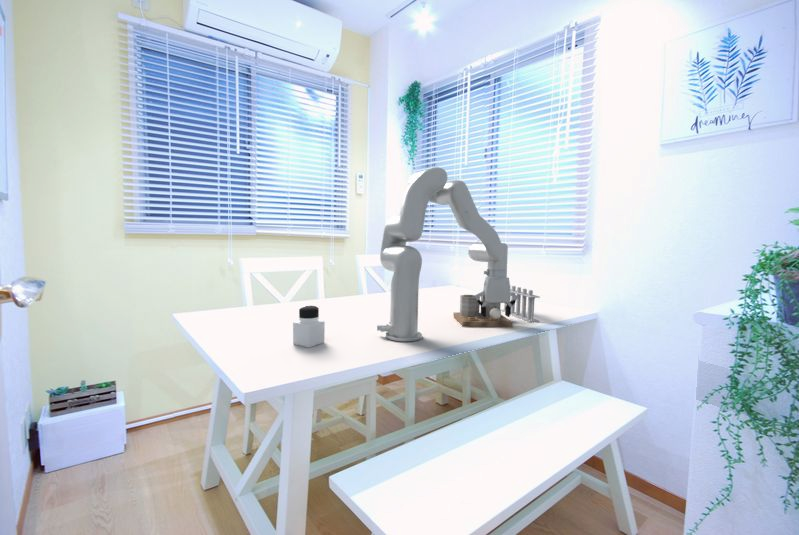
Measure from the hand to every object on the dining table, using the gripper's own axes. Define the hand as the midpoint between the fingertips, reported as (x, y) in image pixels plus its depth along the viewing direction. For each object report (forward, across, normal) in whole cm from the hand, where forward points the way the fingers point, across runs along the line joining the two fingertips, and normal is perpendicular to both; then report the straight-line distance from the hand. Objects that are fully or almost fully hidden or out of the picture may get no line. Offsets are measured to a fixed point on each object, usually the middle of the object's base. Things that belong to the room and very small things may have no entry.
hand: (495, 316), depth 151 cm
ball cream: (-1, 0, 0) cm, 1 cm away
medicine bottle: (+3, -69, -27) cm, 74 cm away
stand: (+4, -4, +5) cm, 8 cm away
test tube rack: (+4, +16, +17) cm, 23 cm away
